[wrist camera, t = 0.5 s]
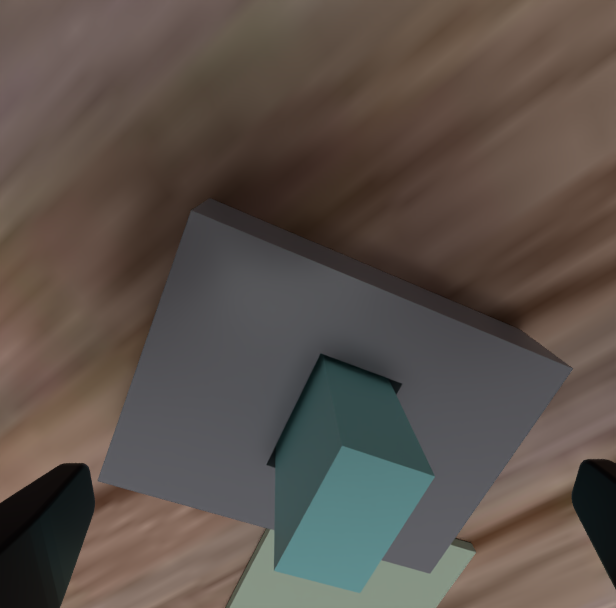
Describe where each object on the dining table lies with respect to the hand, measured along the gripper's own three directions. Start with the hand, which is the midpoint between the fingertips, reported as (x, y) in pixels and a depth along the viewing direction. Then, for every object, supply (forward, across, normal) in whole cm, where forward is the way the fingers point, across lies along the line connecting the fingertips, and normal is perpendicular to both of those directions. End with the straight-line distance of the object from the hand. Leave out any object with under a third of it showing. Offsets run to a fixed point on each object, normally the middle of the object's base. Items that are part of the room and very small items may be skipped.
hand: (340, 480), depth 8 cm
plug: (+13, -1, +5) cm, 14 cm away
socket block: (+12, -1, +5) cm, 13 cm away
